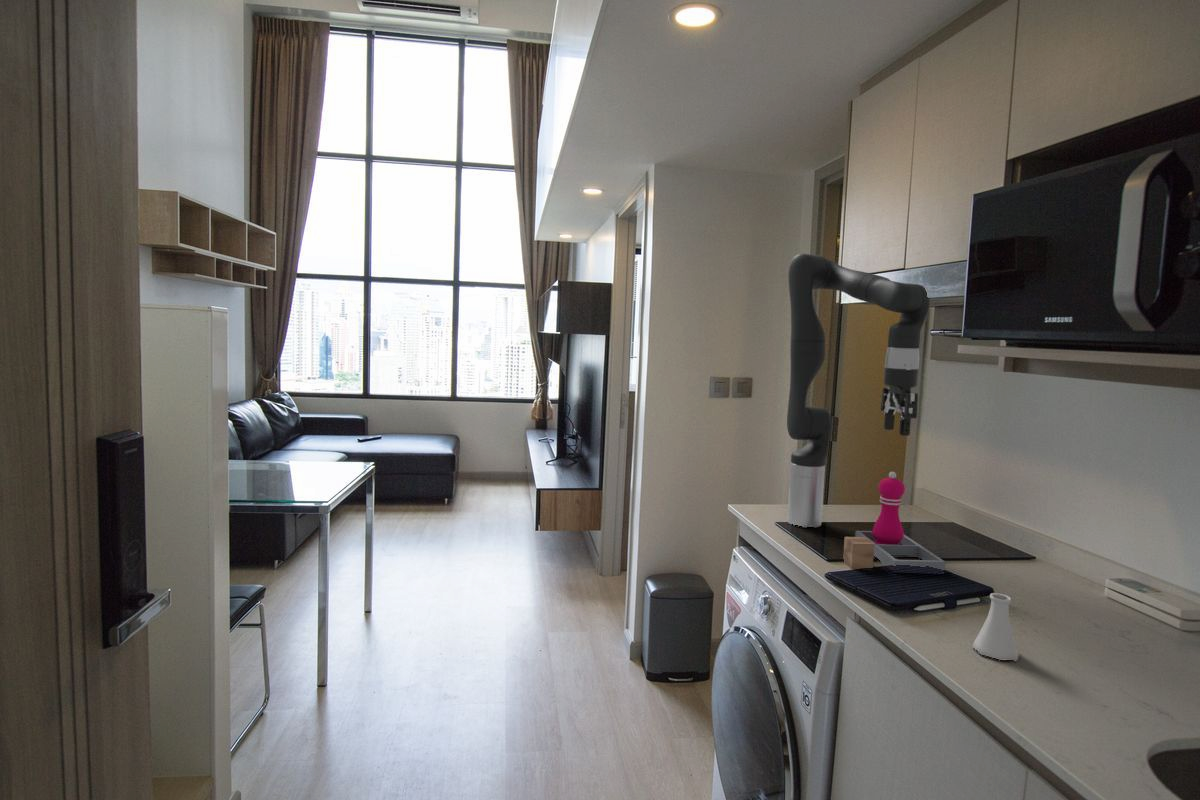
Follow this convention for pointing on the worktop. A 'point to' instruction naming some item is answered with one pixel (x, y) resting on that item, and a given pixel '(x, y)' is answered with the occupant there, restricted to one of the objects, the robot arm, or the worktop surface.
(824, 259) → the robot arm
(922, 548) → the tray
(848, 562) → the wooden block
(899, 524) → the pepper mill
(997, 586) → the worktop surface
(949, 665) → the worktop surface
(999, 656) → the flask
